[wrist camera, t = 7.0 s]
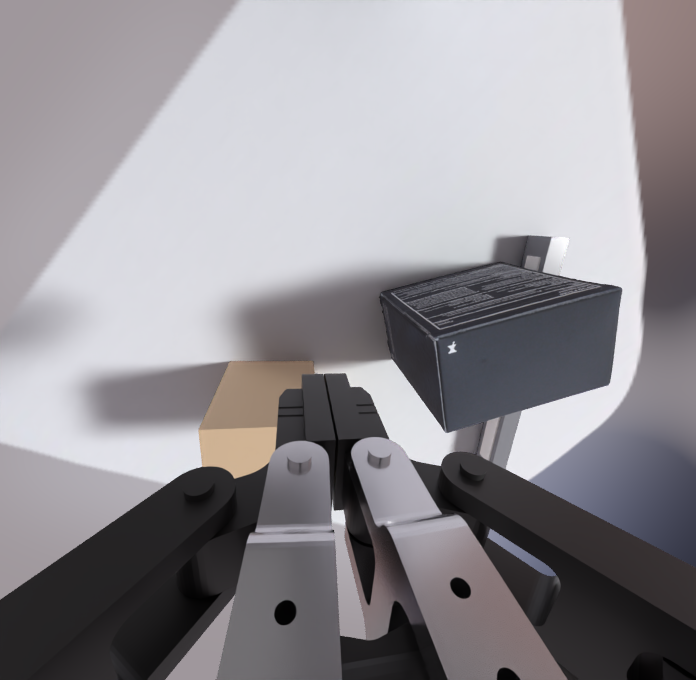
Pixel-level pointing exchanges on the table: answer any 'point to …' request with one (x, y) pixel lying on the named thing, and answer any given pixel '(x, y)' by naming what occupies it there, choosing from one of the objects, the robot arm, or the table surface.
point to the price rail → (501, 430)
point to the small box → (500, 340)
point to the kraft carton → (247, 414)
